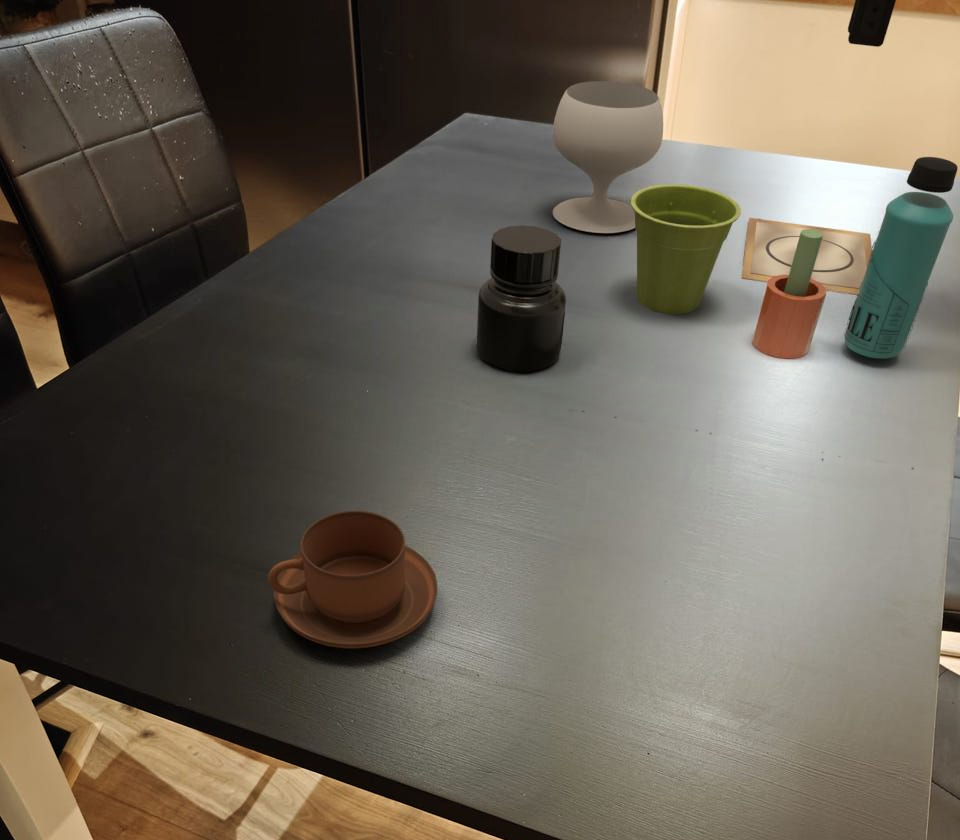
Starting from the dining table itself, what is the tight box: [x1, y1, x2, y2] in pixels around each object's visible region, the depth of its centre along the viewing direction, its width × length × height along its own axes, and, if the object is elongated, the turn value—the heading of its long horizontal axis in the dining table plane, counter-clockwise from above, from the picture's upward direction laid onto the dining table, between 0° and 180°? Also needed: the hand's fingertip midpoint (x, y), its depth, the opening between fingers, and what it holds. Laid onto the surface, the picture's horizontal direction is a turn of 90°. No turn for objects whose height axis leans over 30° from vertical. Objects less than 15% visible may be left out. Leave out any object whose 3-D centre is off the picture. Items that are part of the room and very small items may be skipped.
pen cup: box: [751, 275, 827, 360], centre depth 99 cm, size 6×6×7 cm
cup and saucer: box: [267, 510, 438, 649], centre depth 68 cm, size 12×12×6 cm
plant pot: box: [630, 183, 742, 315], centre depth 105 cm, size 12×12×11 cm
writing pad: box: [741, 217, 873, 296], centre depth 119 cm, size 16×20×1 cm
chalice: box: [552, 80, 664, 234], centre depth 121 cm, size 14×14×15 cm
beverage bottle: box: [843, 156, 958, 359], centre depth 94 cm, size 6×7×20 cm
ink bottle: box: [476, 224, 567, 372], centre depth 95 cm, size 10×9×12 cm
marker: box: [784, 229, 823, 297], centre depth 97 cm, size 2×2×12 cm
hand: (864, 37), depth 90 cm, fingers open, 3 cm apart
